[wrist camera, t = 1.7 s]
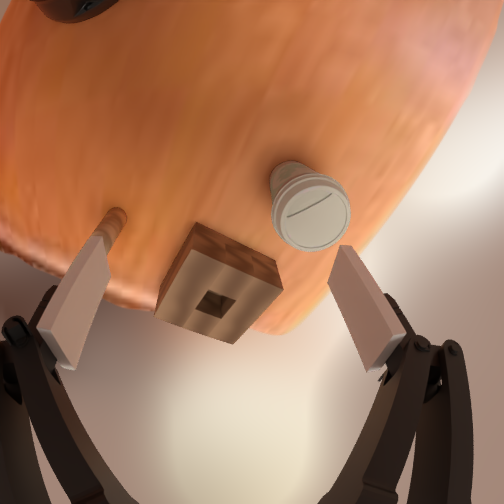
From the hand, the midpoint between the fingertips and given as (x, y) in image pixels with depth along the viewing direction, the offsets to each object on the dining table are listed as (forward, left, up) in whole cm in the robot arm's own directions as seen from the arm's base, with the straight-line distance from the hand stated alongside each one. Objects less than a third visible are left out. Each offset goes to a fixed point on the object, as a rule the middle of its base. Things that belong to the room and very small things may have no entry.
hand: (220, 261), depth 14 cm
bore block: (+9, -17, -23) cm, 30 cm away
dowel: (-9, -15, -23) cm, 29 cm away
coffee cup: (+10, +2, -23) cm, 25 cm away
